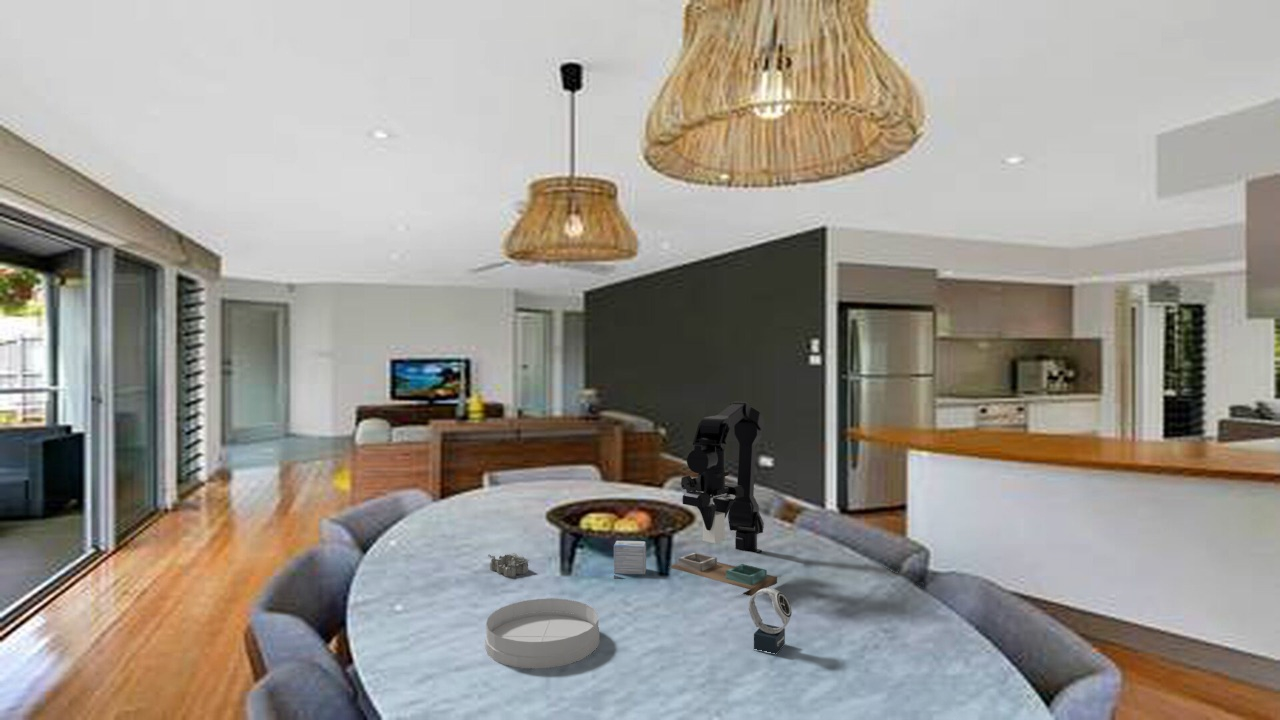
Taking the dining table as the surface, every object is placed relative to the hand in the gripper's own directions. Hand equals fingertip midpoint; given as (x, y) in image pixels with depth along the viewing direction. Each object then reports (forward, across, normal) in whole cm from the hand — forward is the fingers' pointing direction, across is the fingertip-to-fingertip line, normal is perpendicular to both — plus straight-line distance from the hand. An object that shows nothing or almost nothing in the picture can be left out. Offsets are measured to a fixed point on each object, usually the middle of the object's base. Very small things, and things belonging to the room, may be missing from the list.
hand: (713, 528), depth 171 cm
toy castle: (+13, +33, -42) cm, 55 cm away
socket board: (+12, 0, +2) cm, 12 cm away
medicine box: (+12, +15, -15) cm, 25 cm away
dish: (+13, +55, 0) cm, 56 cm away
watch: (+12, +26, +33) cm, 44 cm away
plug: (+3, 0, 0) cm, 3 cm away
